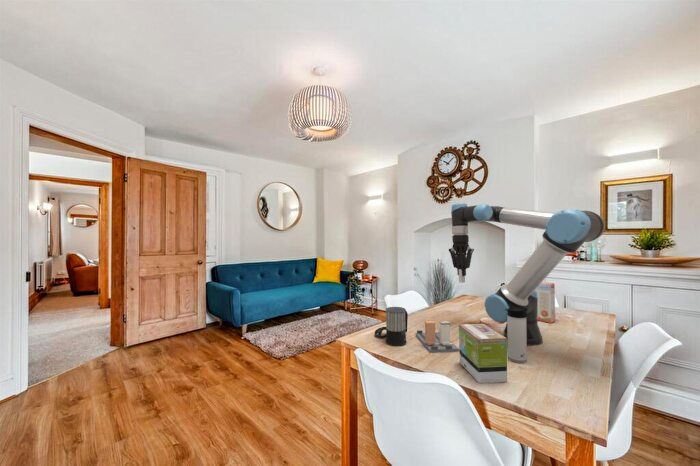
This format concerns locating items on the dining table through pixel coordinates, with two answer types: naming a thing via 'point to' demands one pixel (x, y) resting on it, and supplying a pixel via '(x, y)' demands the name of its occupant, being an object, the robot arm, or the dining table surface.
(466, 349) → the tea box
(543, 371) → the dining table surface
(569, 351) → the dining table surface
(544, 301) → the cracker box
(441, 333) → the ivory fader tab
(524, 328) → the travel mug
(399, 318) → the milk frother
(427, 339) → the fader console
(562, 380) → the dining table surface
